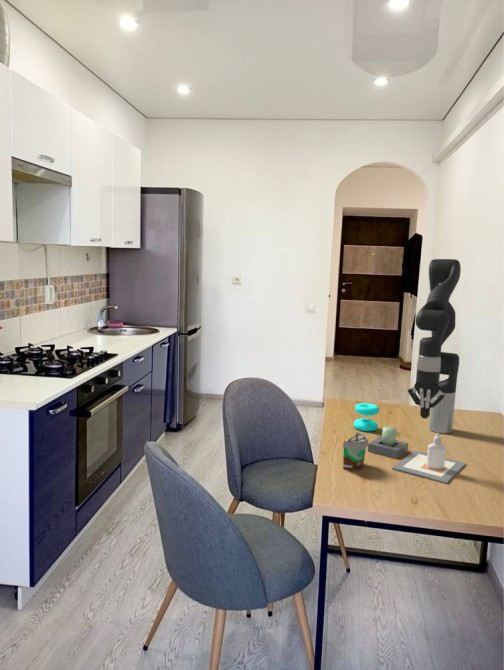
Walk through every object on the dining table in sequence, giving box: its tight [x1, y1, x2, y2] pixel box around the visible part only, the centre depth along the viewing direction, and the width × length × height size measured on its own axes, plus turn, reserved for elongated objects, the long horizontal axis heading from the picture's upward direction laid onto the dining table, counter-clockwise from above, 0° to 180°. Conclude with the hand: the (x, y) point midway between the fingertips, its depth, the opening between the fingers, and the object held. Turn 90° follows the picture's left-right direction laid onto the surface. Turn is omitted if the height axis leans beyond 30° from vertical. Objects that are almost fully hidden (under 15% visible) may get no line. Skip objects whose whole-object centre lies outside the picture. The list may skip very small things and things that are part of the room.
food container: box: [342, 432, 369, 471], centre depth 177 cm, size 12×6×10 cm, turn 148°
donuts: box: [353, 402, 380, 432], centre depth 220 cm, size 10×10×10 cm
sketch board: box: [391, 450, 467, 485], centre depth 180 cm, size 22×18×1 cm
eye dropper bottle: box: [426, 432, 447, 469], centre depth 177 cm, size 4×6×12 cm
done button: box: [381, 426, 397, 447], centre depth 194 cm, size 5×5×6 cm
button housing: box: [367, 435, 409, 460], centre depth 194 cm, size 11×11×3 cm
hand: (424, 417), depth 181 cm, fingers closed
